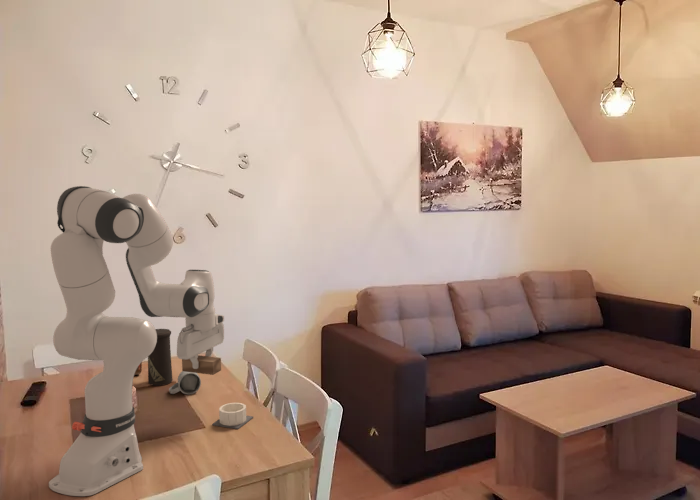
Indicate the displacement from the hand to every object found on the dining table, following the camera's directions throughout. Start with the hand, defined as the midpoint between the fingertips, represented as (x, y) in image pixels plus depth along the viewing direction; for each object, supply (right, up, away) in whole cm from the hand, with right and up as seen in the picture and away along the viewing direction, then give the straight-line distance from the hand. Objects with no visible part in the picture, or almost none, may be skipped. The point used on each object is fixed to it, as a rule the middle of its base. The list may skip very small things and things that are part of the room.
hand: (202, 365), depth 170 cm
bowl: (+10, -17, 0) cm, 19 cm away
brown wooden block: (0, -2, 0) cm, 2 cm away
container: (-25, -14, +36) cm, 46 cm away
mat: (+10, -17, 0) cm, 20 cm away
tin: (-40, -13, +47) cm, 63 cm away
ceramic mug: (-13, -15, +26) cm, 33 cm away
